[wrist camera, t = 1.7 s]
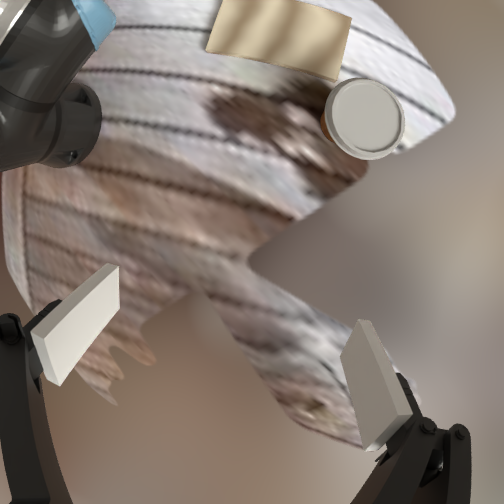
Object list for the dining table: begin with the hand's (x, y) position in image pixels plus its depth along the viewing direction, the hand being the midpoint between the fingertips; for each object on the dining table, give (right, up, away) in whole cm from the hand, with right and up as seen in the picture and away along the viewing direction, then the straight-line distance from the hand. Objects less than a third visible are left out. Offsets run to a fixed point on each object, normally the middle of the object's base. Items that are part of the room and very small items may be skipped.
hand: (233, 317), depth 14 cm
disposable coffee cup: (+14, +22, +22) cm, 34 cm away
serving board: (+5, +35, +17) cm, 40 cm away
